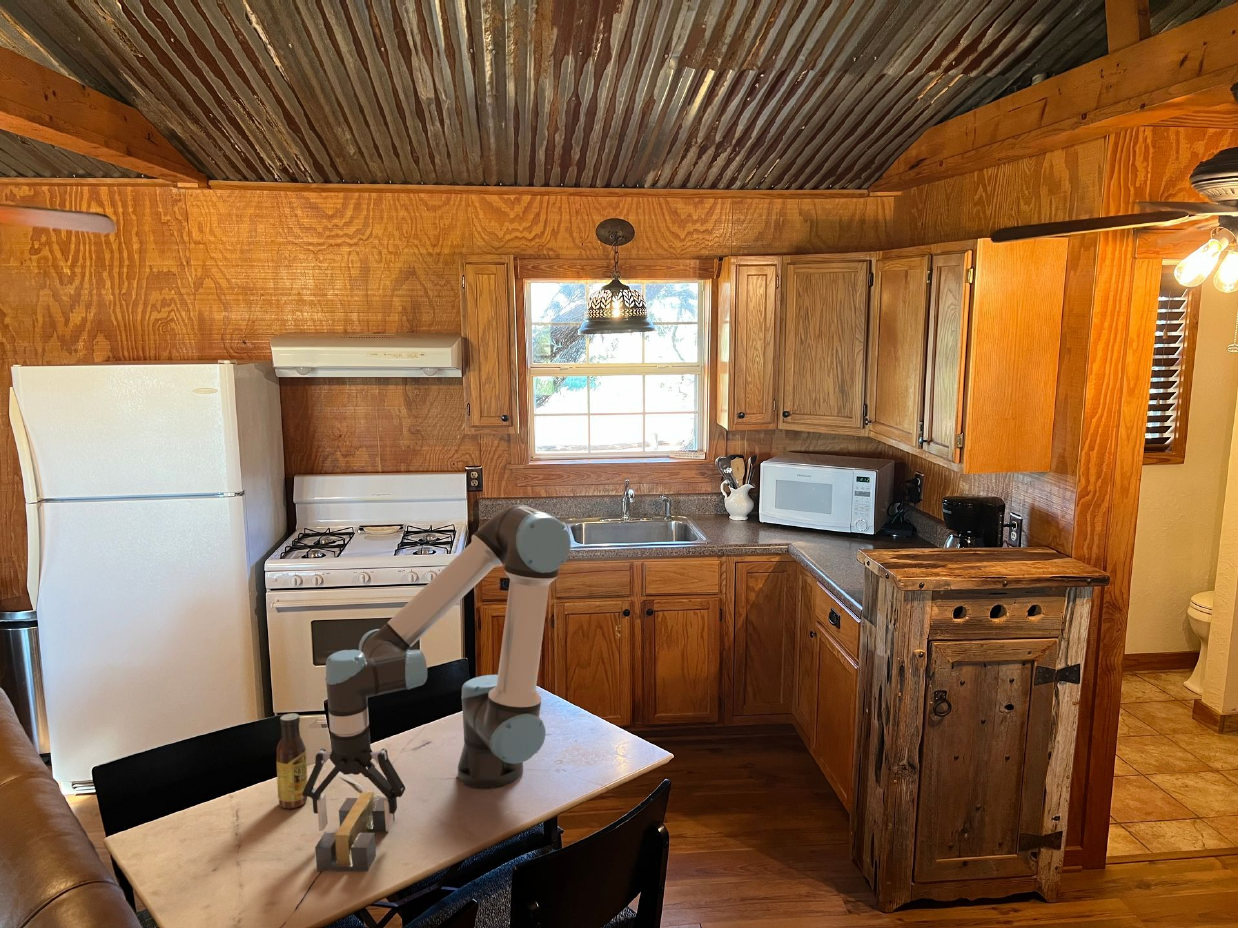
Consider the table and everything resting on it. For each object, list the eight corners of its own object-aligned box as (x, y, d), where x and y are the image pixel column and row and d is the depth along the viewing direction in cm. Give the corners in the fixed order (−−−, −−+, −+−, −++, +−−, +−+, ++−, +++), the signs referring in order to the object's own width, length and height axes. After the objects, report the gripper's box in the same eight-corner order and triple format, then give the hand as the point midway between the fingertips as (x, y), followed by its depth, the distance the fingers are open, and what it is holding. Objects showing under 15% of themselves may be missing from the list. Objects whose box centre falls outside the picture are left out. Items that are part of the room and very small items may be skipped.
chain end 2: (376, 855, 176) (374, 832, 175) (368, 871, 171) (366, 847, 170) (326, 855, 177) (324, 832, 176) (317, 870, 172) (315, 847, 171)
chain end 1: (394, 819, 189) (393, 797, 188) (387, 832, 184) (386, 810, 183) (348, 819, 189) (346, 797, 189) (340, 832, 184) (338, 810, 184)
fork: (337, 766, 213) (336, 759, 213) (389, 803, 196) (388, 796, 196) (324, 771, 211) (324, 764, 211) (375, 809, 194) (375, 802, 194)
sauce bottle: (300, 810, 193) (295, 724, 190) (273, 809, 194) (267, 722, 191) (314, 795, 199) (309, 711, 197) (287, 793, 200) (282, 710, 197)
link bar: (375, 818, 188) (373, 791, 187) (349, 863, 172) (347, 835, 171) (363, 817, 188) (361, 791, 187) (337, 863, 172) (334, 834, 171)
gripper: (416, 720, 180) (422, 816, 183) (295, 720, 181) (303, 816, 184) (406, 737, 172) (412, 837, 176) (280, 737, 173) (288, 837, 177)
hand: (356, 827), depth 180 cm, fingers open, 13 cm apart
